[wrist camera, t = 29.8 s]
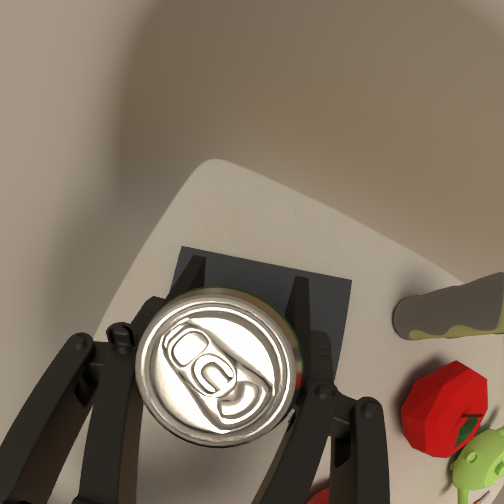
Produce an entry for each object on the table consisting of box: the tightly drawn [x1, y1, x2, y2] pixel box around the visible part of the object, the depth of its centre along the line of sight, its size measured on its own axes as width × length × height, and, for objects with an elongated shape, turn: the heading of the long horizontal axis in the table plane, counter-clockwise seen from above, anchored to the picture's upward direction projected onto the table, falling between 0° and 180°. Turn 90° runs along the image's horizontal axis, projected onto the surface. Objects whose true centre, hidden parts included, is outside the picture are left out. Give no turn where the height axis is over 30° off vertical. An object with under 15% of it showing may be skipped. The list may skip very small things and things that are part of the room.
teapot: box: [450, 426, 504, 504], centre depth 17 cm, size 11×12×8 cm
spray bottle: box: [394, 272, 504, 340], centre depth 17 cm, size 5×5×20 cm
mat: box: [170, 246, 352, 409], centre depth 26 cm, size 18×14×1 cm
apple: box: [401, 360, 488, 458], centre depth 19 cm, size 11×11×10 cm
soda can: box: [135, 286, 304, 448], centre depth 12 cm, size 5×5×12 cm
